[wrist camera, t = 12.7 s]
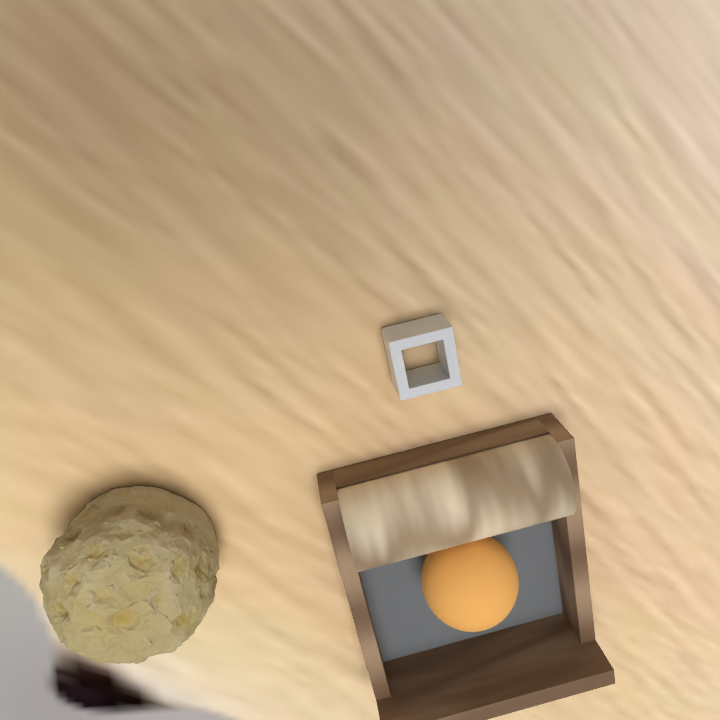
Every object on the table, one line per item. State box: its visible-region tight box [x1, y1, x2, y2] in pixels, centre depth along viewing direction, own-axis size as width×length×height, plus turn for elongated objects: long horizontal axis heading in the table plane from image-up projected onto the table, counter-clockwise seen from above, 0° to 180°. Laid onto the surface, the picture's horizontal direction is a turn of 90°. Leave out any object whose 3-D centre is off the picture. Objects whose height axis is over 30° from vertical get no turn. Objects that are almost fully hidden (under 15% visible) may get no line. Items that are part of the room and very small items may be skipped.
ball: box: [421, 537, 519, 632], centre depth 43 cm, size 6×6×6 cm
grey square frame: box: [381, 313, 462, 401], centre depth 39 cm, size 4×4×2 cm
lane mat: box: [360, 419, 563, 662], centre depth 46 cm, size 17×15×1 cm
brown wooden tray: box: [317, 413, 615, 720], centre depth 44 cm, size 17×15×6 cm
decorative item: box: [39, 485, 219, 664], centre depth 40 cm, size 10×10×10 cm
